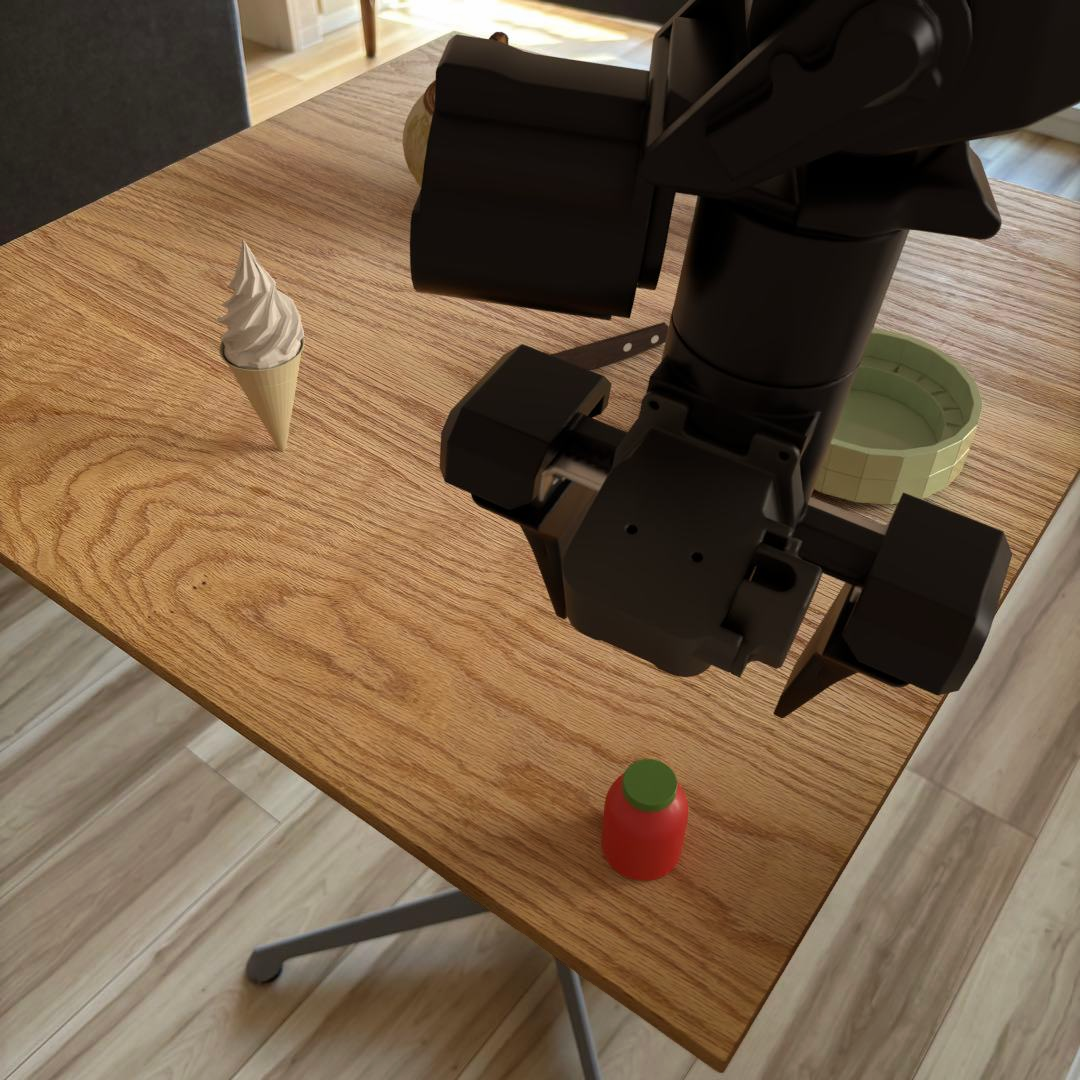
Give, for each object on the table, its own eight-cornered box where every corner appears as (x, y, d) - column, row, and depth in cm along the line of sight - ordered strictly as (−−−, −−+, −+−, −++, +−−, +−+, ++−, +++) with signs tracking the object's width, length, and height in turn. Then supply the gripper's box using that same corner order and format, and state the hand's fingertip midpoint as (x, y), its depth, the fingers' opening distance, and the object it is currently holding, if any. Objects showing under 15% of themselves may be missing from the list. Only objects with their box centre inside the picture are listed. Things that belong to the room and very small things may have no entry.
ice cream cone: (336, 436, 74) (305, 230, 64) (293, 483, 71) (253, 274, 60) (272, 415, 76) (231, 210, 65) (226, 460, 72) (176, 252, 62)
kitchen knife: (539, 388, 78) (539, 364, 77) (533, 380, 79) (533, 357, 77) (757, 321, 84) (761, 298, 83) (750, 315, 85) (753, 292, 83)
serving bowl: (976, 410, 77) (996, 355, 74) (943, 535, 68) (964, 479, 65) (786, 362, 80) (797, 308, 77) (732, 475, 72) (742, 420, 69)
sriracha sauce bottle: (692, 825, 54) (704, 762, 50) (666, 893, 52) (677, 832, 48) (617, 798, 55) (624, 734, 51) (588, 863, 53) (593, 800, 49)
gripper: (345, 355, 30) (354, 701, 41) (1039, 640, 26) (840, 945, 37) (534, 188, 38) (499, 521, 49) (1102, 386, 33) (920, 705, 44)
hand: (670, 658), depth 44 cm, fingers open, 9 cm apart
